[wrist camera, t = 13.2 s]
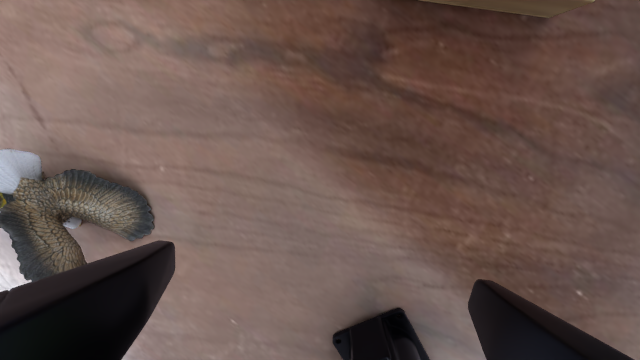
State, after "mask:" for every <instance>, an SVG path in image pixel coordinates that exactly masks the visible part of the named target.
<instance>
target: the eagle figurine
mask: <svg viewBox="0 0 640 360" xmlns="http://www.w3.org/2000/svg"><path fill="white" fill-rule="evenodd" d="M43 174H44V172H42V166H41V159H40V157H39V156H38V155H37V154H34V153H31V152H27V151H19V150H14V149H3V150H0V228H3V229H4V231H6V232H7V233H9V235H10V238H11V239H12V248H14V249H15V251H16V253H17V254H18V257H17V260H18V261H19V262H20V267H19V269H20V273H21V274H23V275H24V278H25V279H26V280H32V282H33V281H36V280H39V279H42V278H45V277H48V276H52V275H55V274H58V273H61V272H64V271H67V270H70V269H73V268H76V267H79V266H82V265H85V264H87V263H86V261H85V259H84V255H83V253H82V250H81V248H80V246H79V245H78V243H77V242H76V240H75V239H74V238H73V237H72V236H71V235H70V234H69V232H68V231H67V230H66V228H65V227H69V228H71V229H75V228H77V227H78V226H81V222H82V220H86V221H89V222H91V223H94V224H96V225H98V226H100V227H103V228H106V229H109V230H111V231H113V232H115V233H117V234H119V235H121V236H122V237H124V238H126V239H128V240H130V241H133V240H135V238H142V237H143V235H144V234H146V235H148V234H150V233H151V229H153V228H154V225H153V223H152V221H153V220H154V218H153V216H152V215H151V214H150V213H148V211H150V210H151V208H150V207H149V206H148V205H146V204H147V200H146V199H144V197H143V196H141V195H139V193H138V192H137V191H134V190H131V188H129V187H122V186H121V185H119V184H117V183H110V182H109V181H108V180H104V179H103V178H99V177H96V175H95V174H92V173H91V172H89V171H84V170H75V169H71V170H70V171H69V170H66V171H64V173H62V174H57V175H56V176H55V177H54V178H51V177H48V178H47V179H46V180H43V179H44V178H45V175H43ZM2 207H3V208H2ZM81 219H82V220H81Z"/></svg>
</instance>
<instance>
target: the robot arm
mask: <svg viewBox="0 0 640 360" xmlns="http://www.w3.org/2000/svg"><path fill="white" fill-rule="evenodd" d="M174 271H175V246H174V244H173V243H172V242H169V241H156V242H152V243H149V244H146V245H143V246H140V247H137V248H134V249H131V250H128V251H125V252H122V253H119V254H116V255H113V256H110V257H107V258H104V259H100V260H97V261H94V262H91V263H88V264H85V265H82V266H79V267H76V268H73V269H70V270H67V271H64V272H61V273H58V274H55V275H52V276H48V277H45V278H42V279H39V280H36V281H33V282H30V283H27V284H24V285H21V286H18V287H15V288H12V289H11V290H10V291H8V290H5V291H2V292H0V360H121V359H122V358H123V356H124V355H125V353H126V352H127V351H128V349H129V348H130V346H131V345H132V343H133V342H134V340H135V339H136V338H137V336H138V335H139V333H140V332H141V330H142V329H143V327H144V326H145V324H146V323H147V321H148V319H149V318H150V316H151V314H152V313H153V311H154V309H155V307H156V305H157V303H158V302H159V300H160V298H161V296H162V294H163V293H164V291H165V289H166V287H167V285H168V283H169V282H170V280H171V278H172V276H173V274H174ZM468 309H469V313H470V315H471V318H472V321H473V324H474V327H475V329H476V332H477V335H478V338H479V340H480V343H481V346H482V349H483V351H484V354H485V357H486V359H487V360H634V359H632V358H630V357H629V356H627V355H625V354H623V353H621V352H620V351H618V350H616V349H614V348H612V347H611V346H609V345H607V344H605V343H603V342H602V341H600V340H598V339H596V338H594V337H593V336H591V335H589V334H587V333H585V332H584V331H582V330H580V329H578V328H576V327H574V326H573V325H571V324H569V323H567V322H565V321H564V320H562V319H560V318H558V317H556V316H555V315H553V314H551V313H549V312H547V311H546V310H544V309H542V308H540V307H538V306H537V305H535V304H533V303H531V302H529V301H528V300H526V299H524V298H522V297H520V296H519V295H517V294H515V293H513V292H511V291H510V290H508V289H506V288H504V287H502V286H501V285H499V284H497V283H495V282H493V281H490V280H482V279H478V280H476V281H475V283H474V286H473V289H472V292H471V295H470V298H469V302H468ZM398 314H401V315H400V316H397V315H398ZM337 339H340V340H337ZM333 344H334V346H335V347H336V349H337V350H338V352H339V354H340V355H341V357H342V358H343V360H430V359H429V357H428V355H427V353H426V351H425V350H424V348H423V346H422V344H421V342H420V340H419V338H418V336H417V334H416V333H415V331H414V329H413V327H412V325H411V323H410V321H409V319H408V318H407V316H406V314H405V312H404V310H403V309H401V308H396V309H394V310H391V311H389V312H386V313H384V314H381V315H379V316H377V317H374V318H372V319H369V320H367V321H364V322H362V323H360V324H357V325H355V326H352V327H350V328H347V329H345V330H342V331H340V332H338V333H335V334H334V335H333Z"/></svg>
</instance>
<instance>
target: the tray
mask: <svg viewBox="0 0 640 360" xmlns="http://www.w3.org/2000/svg"><path fill="white" fill-rule="evenodd" d="M419 1H427V2H434V3H441V4H449V5H456V6H463V7H471V8H478V9H485V10H493V11H500V12H507V13H515V14H522V15H529V16H537V17H544V18H551V17H553V16H556V15H559V14H561V13H564V12H567V11H570V10H573V9H575V8H578V7H581V6H584V5H586V4H589V3H592V2H595V0H419Z"/></svg>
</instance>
